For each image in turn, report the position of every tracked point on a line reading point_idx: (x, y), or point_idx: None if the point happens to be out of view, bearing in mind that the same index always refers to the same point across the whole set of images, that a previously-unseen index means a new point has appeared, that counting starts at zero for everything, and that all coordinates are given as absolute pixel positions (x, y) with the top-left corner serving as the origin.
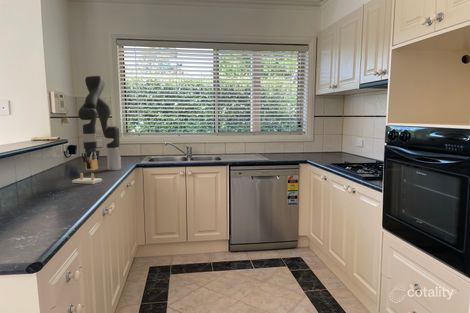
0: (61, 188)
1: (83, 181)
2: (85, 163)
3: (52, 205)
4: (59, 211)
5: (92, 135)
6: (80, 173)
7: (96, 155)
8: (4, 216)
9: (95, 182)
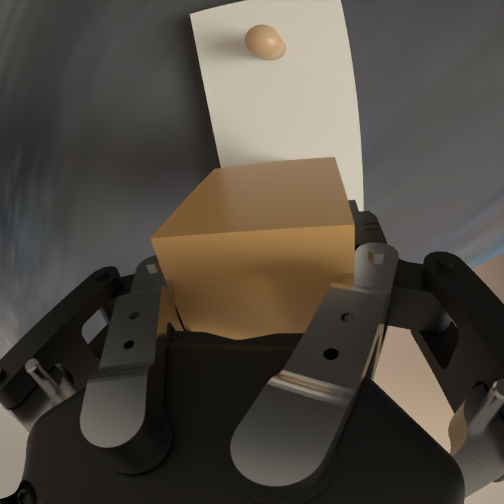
0: (66, 122)
1: (214, 132)
2: (178, 212)
3: (9, 307)
4: None
5: None
6: (245, 41)
7: (454, 370)
8: None
9: None
